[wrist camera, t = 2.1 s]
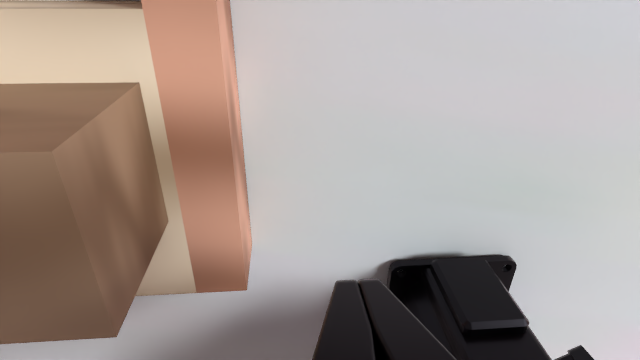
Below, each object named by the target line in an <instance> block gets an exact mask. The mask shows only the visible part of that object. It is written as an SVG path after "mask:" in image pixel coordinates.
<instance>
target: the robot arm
mask: <svg viewBox="0 0 640 360" xmlns="http://www.w3.org/2000/svg"><path fill="white" fill-rule="evenodd" d="M505 265H506V266H505ZM503 266H504V267H503ZM399 270H402V271H401V272H397V271H399ZM515 270H516V263H515V262H514V260H513V259H512V258H511V257H510V256H484V257H463V258H443V259H422V260H401V261H396V262H394V263H392V264H391V265H390V268H389V273H388V281H387V287H386V286H385V285H384V284H383V283H382V282H381V281H380V280H378V279H361V280H359V281H358V282H357V281H355V280H340V281H337V282H336V283H335V286H334V289H333V292H332V296H331V299H330V302H329V306H328V309H327V312H326V315H325V319H324V322H323V325H322V329H321V332H320V335H319V339H318V342H317V345H316V349H315V352H314V355H313V359H312V360H552V359H551V358H550V357H549V355H548V354H547V352H546V351H545V349H544V348H543V346H542V345H541V343H540V342H539V341H538V339H537V338H536V336H535V335H534V333H533V332H532V330H531V329H530V327H529V326H528V325H529V321H528V319H527V318H526V316H525V315H524V313H523V312H522V311H521V309H520V308H519V306H518V305H517V303H516V302H515V301H514V299H513V298H512V296H511V295H510V293H509V288H510V285H511V282H512V279H513V276H514V273H515ZM555 360H594V359H593V358H592V357H591V356H590V354H589V353H588V352H587V351H586V350H585V349H584V348H583V347H582V346H581V345H580V346H577V347H575V348H573V349H571V350H568V354H566V355H564V356H562V357H559V358H557V359H555Z"/></svg>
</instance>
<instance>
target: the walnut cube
mask: <svg viewBox="0 0 640 360" xmlns="http://www.w3.org/2000/svg"><path fill="white" fill-rule="evenodd" d="M168 222H169V221H168V216H167V211H166V207H165V202H164V197H163V192H162V188H161V183H160V178H159V173H158V169H157V164H156V159H155V154H154V150H153V145H152V140H151V136H150V131H149V126H148V121H147V117H146V112H145V107H144V102H143V98H142V93H141V88H140V84H139V82H123V83H27V84H0V344H11V343H27V342H44V341H60V340H77V339H93V338H110V337H117V335H118V333H119V330H120V328H121V326H122V324H123V322H124V319H125V317H126V315H127V313H128V310H129V308H130V306H131V304H132V302H133V299H134V297H135V295H136V293H137V291H138V288H139V286H140V284H141V282H142V279H143V277H144V275H145V273H146V271H147V268H148V266H149V264H150V262H151V259H152V257H153V255H154V253H155V251H156V248H157V246H158V244H159V242H160V240H161V237H162V235H163V233H164V231H165V228H166V226H167V224H168Z"/></svg>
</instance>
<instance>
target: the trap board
mask: <svg viewBox="0 0 640 360" xmlns="http://www.w3.org/2000/svg"><path fill="white" fill-rule="evenodd" d="M123 82H139V84H140V88H141V93H142V98H143V102H144V107H145V112H146V117H147V121H148V126H149V131H150V136H151V140H152V145H153V150H154V154H155V159H156V164H157V169H158V173H159V178H160V183H161V188H162V192H163V197H164V202H165V207H166V211H167V216H168V221H169V222H168V224H167V226H166V228H165V231H164V233H163V235H162V237H161V240H160V242H159V244H158V246H157V248H156V251H155V253H154V255H153V257H152V259H151V262H150V264H149V266H148V268H147V271H146V273H145V275H144V277H143V279H142V282H141V284H140V286H139V288H138V291H137V293H136V295H135V296H147V295H166V294H185V293H204V292H223V291H242V290H247V284H248V275H249V266H250V257H251V248H252V240H251V229H250V218H249V207H248V196H247V185H246V174H245V163H244V152H243V141H242V130H241V119H240V108H239V97H238V86H237V75H236V64H235V53H234V42H233V31H232V20H231V9H230V0H141V1H38V0H0V84H27V83H123Z"/></svg>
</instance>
